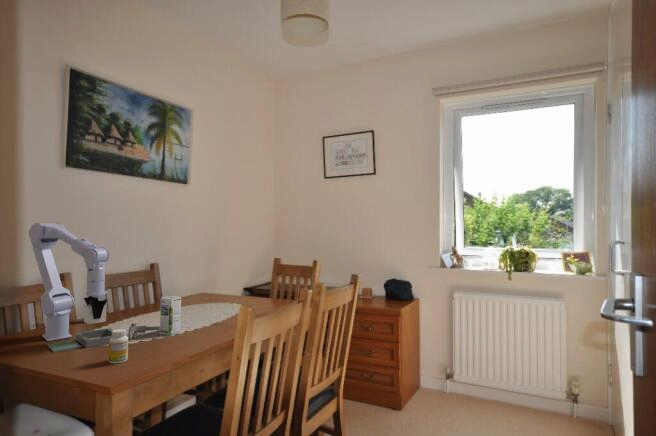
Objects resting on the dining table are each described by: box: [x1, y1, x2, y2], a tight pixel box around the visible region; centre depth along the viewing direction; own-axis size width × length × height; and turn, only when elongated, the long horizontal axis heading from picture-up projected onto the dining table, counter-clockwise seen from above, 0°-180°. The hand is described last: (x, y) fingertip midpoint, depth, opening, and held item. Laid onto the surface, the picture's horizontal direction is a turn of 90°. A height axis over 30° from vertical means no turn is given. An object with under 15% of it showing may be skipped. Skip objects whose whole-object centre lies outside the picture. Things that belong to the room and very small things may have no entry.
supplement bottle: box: [108, 328, 129, 364], centre depth 130 cm, size 5×5×10 cm
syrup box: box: [159, 295, 182, 336], centre depth 163 cm, size 6×6×14 cm
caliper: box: [127, 322, 160, 341], centre depth 162 cm, size 20×1×6 cm, turn 156°
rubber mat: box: [47, 339, 82, 353], centre depth 143 cm, size 10×8×1 cm
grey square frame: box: [75, 327, 114, 349], centre depth 151 cm, size 13×11×2 cm
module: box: [83, 304, 107, 325], centre depth 150 cm, size 4×6×7 cm
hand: (94, 317), depth 150 cm, fingers closed on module, 4 cm apart
